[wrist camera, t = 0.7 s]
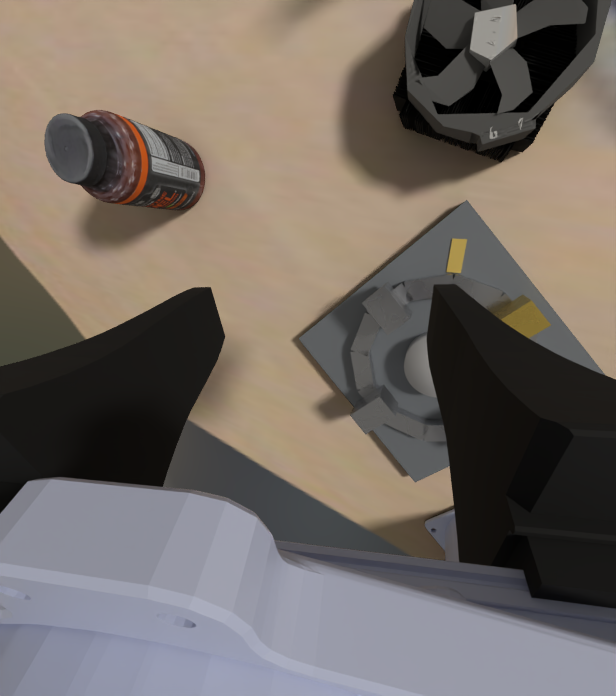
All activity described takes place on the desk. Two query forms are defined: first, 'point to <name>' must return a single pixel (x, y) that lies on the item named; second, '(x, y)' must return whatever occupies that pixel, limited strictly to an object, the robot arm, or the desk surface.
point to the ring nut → (392, 313)
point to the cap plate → (410, 338)
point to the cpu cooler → (493, 67)
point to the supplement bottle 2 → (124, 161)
